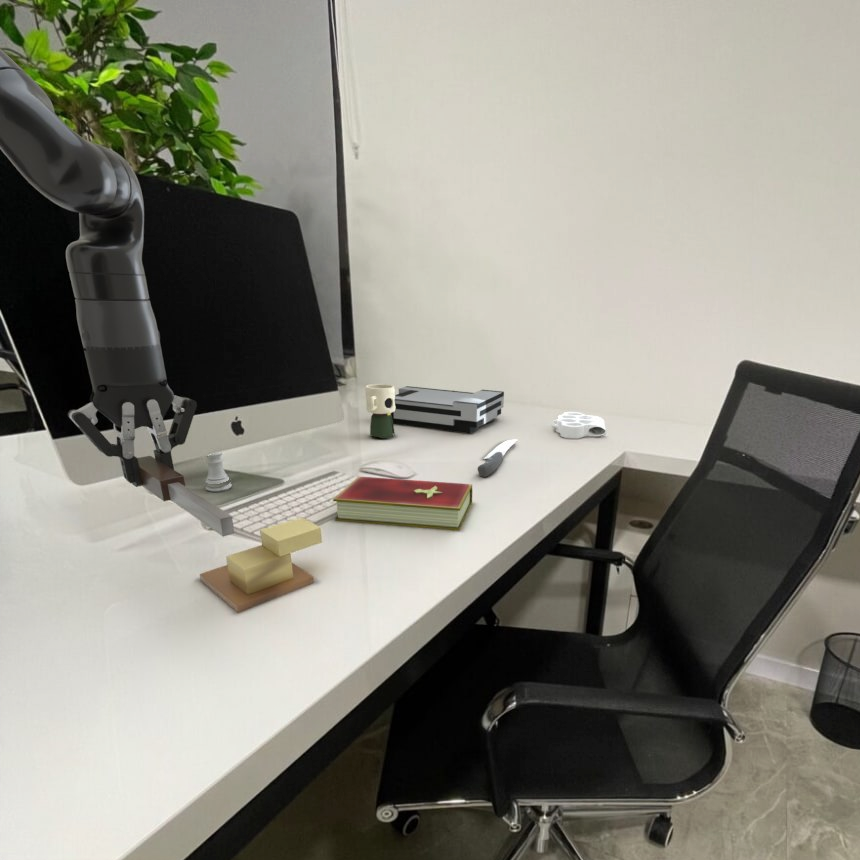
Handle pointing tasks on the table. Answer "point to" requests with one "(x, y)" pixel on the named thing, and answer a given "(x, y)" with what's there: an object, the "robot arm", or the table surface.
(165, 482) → the butter knife
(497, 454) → the kitchen knife
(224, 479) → the rook chess piece
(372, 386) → the character mug
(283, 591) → the butter board
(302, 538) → the butter pat
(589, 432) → the white dimpled palette
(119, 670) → the table surface
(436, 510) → the hardcover book
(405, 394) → the game console
